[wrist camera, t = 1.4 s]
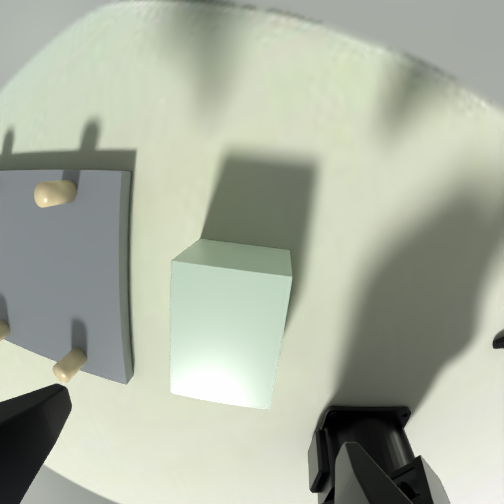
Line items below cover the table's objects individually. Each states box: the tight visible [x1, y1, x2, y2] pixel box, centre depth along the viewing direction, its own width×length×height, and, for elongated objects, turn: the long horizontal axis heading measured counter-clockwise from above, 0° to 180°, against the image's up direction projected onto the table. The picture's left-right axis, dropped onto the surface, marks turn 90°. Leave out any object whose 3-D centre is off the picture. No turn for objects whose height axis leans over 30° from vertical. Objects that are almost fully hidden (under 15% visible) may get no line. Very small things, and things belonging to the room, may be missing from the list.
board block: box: [170, 239, 292, 409], centre depth 16 cm, size 5×7×5 cm
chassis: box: [0, 169, 133, 385], centre depth 17 cm, size 16×14×4 cm
